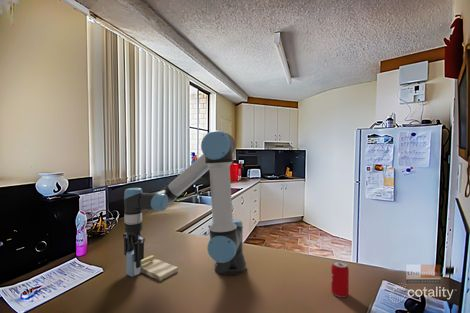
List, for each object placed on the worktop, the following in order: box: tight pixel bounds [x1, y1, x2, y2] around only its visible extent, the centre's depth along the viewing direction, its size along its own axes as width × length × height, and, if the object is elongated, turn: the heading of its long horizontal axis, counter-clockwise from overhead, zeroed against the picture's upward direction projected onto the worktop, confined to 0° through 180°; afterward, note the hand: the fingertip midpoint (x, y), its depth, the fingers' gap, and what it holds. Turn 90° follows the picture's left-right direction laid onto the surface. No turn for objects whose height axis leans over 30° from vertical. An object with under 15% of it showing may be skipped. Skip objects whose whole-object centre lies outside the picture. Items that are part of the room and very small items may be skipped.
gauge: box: [125, 249, 156, 278], centre depth 116 cm, size 4×13×10 cm, turn 145°
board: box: [141, 258, 179, 282], centre depth 116 cm, size 20×10×2 cm, turn 55°
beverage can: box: [330, 260, 350, 298], centre depth 96 cm, size 6×6×12 cm
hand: (133, 272), depth 112 cm, fingers closed on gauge, 4 cm apart
